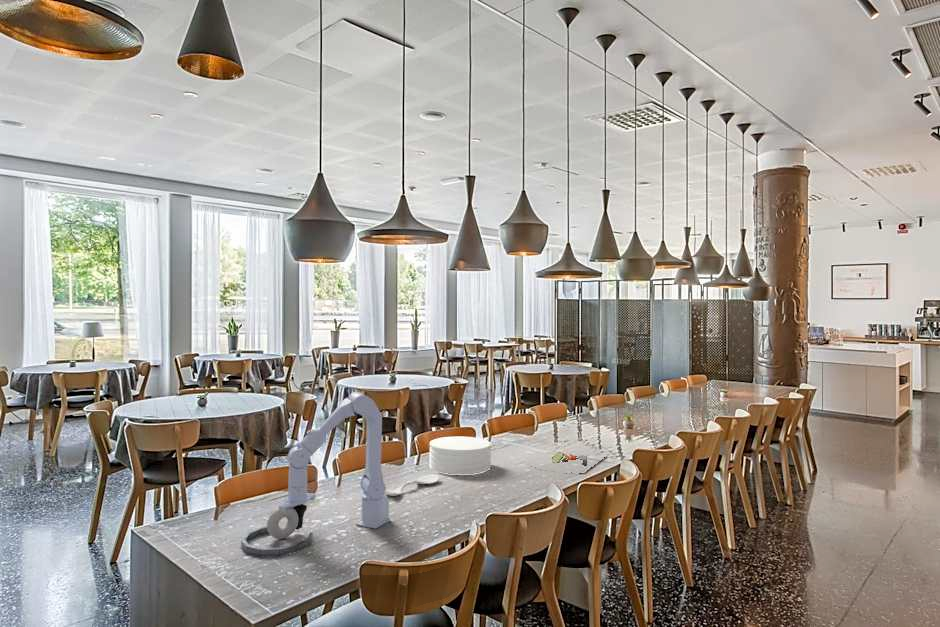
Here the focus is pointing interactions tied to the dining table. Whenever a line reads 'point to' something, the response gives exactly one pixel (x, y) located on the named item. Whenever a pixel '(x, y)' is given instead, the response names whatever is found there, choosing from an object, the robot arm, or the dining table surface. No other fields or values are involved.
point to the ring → (271, 551)
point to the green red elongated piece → (560, 455)
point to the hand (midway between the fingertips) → (297, 528)
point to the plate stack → (460, 455)
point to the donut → (288, 528)
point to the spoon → (422, 480)
